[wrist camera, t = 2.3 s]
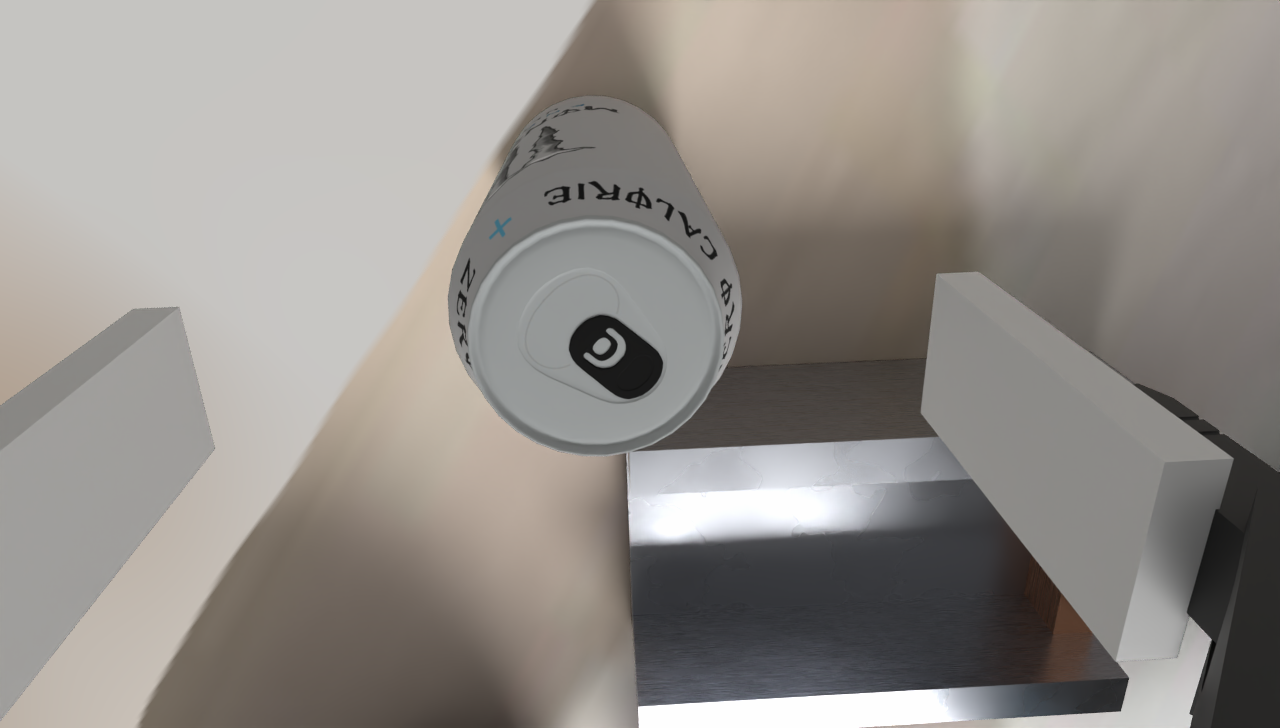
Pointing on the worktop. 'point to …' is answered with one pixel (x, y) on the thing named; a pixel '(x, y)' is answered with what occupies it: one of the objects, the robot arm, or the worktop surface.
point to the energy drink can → (594, 284)
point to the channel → (838, 568)
